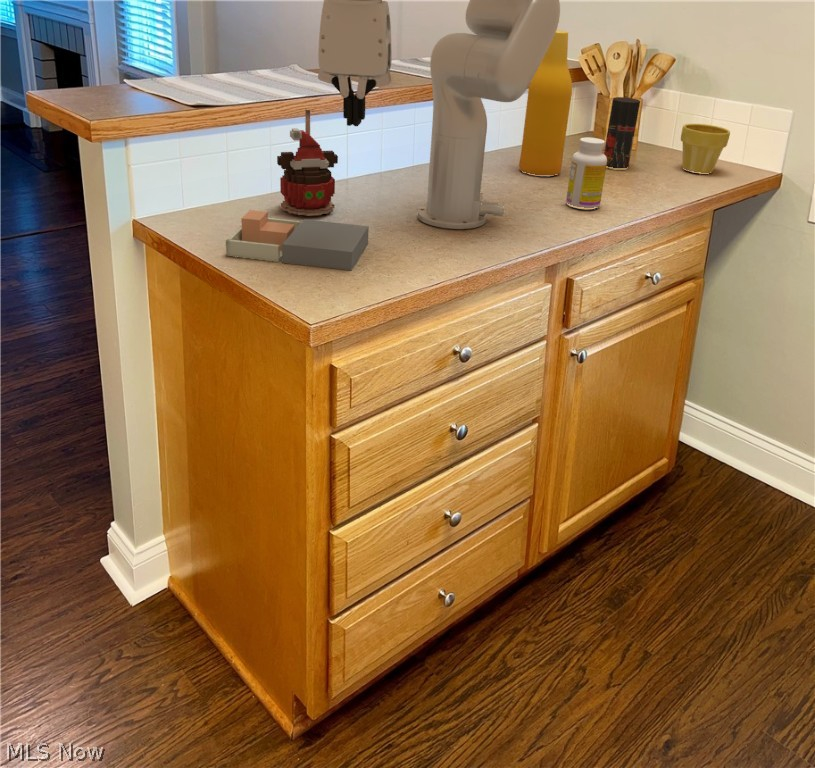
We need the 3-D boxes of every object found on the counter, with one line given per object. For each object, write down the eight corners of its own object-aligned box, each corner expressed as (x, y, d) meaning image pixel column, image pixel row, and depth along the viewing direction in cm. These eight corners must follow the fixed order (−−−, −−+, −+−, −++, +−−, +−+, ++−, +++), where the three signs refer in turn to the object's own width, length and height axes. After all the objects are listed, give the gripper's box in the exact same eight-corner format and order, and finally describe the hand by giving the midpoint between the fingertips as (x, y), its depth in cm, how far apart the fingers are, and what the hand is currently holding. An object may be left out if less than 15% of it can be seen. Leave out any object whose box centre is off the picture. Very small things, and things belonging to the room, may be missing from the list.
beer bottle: (531, 164, 198) (548, 27, 184) (567, 172, 193) (588, 32, 179) (510, 171, 191) (527, 30, 177) (548, 180, 187) (568, 35, 173)
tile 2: (294, 242, 142) (294, 224, 141) (287, 251, 138) (287, 233, 137) (267, 239, 143) (267, 221, 141) (259, 248, 139) (259, 230, 137)
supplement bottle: (606, 207, 171) (617, 141, 165) (587, 213, 167) (598, 146, 161) (577, 199, 175) (587, 134, 169) (558, 204, 171) (568, 138, 165)
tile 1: (268, 211, 141) (250, 209, 141) (259, 220, 137) (241, 218, 137) (268, 238, 143) (250, 236, 143) (260, 247, 139) (242, 245, 140)
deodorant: (630, 171, 197) (642, 103, 190) (604, 169, 197) (615, 101, 190) (625, 164, 203) (636, 98, 195) (599, 163, 203) (610, 96, 195)
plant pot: (708, 165, 207) (718, 123, 202) (728, 177, 198) (738, 134, 193) (667, 164, 205) (675, 122, 200) (685, 176, 196) (694, 132, 191)
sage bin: (300, 236, 146) (300, 221, 145) (278, 262, 135) (278, 246, 134) (252, 230, 147) (251, 215, 146) (226, 256, 136) (225, 240, 135)
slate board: (368, 243, 145) (368, 226, 143) (351, 270, 134) (352, 251, 132) (303, 236, 146) (303, 219, 145) (282, 262, 135) (282, 244, 134)
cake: (329, 202, 164) (330, 103, 156) (343, 217, 156) (345, 114, 148) (273, 204, 161) (271, 104, 152) (284, 220, 153) (283, 115, 144)
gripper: (412, -10, 123) (407, 122, 133) (309, -16, 125) (312, 114, 134) (403, -4, 117) (399, 134, 126) (295, -11, 119) (299, 126, 128)
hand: (354, 123), depth 130 cm, fingers closed
